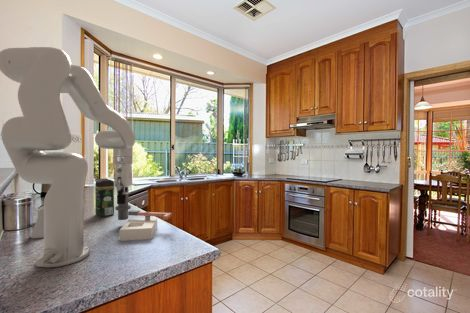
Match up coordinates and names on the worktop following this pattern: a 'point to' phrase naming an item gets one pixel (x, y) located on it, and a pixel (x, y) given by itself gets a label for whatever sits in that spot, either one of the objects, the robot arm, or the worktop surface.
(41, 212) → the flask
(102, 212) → the coffee jar
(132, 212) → the clip
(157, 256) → the worktop surface
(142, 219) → the socket block
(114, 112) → the robot arm
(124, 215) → the plug
